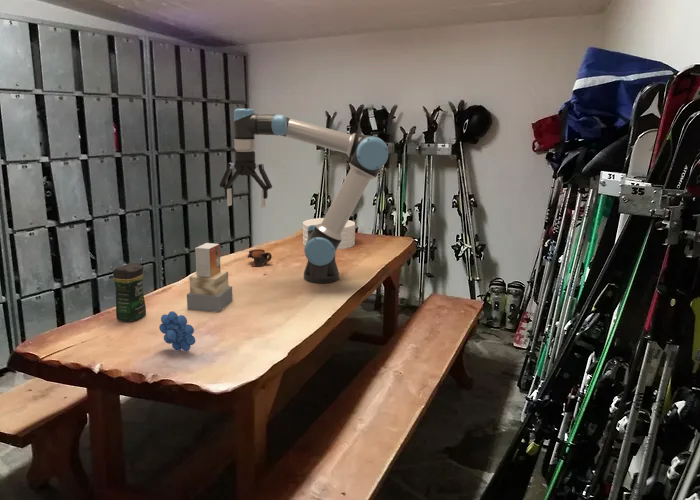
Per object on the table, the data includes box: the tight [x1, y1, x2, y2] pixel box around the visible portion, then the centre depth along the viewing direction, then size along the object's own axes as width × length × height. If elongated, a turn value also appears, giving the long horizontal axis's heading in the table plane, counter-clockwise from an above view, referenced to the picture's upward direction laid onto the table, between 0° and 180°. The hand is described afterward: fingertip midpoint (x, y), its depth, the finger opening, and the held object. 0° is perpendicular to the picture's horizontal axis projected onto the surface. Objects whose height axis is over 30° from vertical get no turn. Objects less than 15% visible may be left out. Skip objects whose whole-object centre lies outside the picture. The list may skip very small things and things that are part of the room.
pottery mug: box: [246, 248, 273, 268], centre depth 249 cm, size 12×10×8 cm
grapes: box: [158, 311, 196, 352], centre depth 156 cm, size 12×7×12 cm, turn 73°
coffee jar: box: [112, 262, 147, 323], centre depth 180 cm, size 10×8×19 cm
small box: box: [194, 242, 222, 277], centre depth 192 cm, size 8×6×10 cm
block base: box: [186, 285, 234, 313], centre depth 195 cm, size 12×12×6 cm
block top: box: [188, 270, 230, 296], centre depth 194 cm, size 10×10×6 cm
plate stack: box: [302, 217, 356, 250], centre depth 290 cm, size 28×28×12 cm
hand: (246, 206), depth 209 cm, fingers open, 13 cm apart
